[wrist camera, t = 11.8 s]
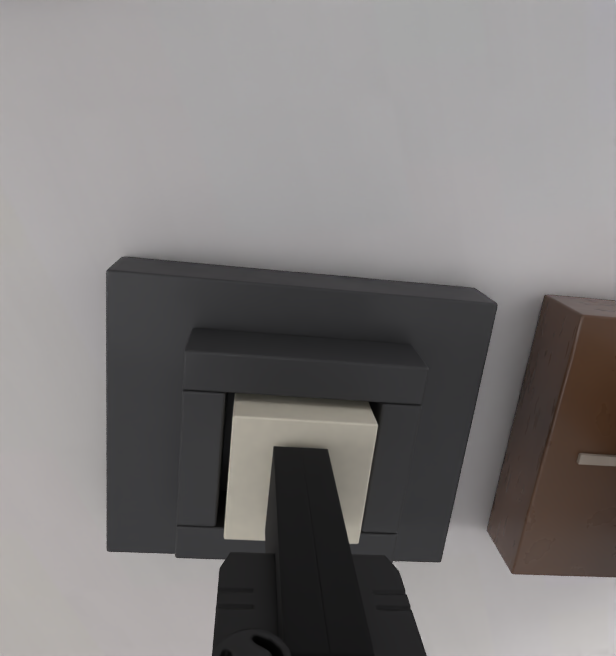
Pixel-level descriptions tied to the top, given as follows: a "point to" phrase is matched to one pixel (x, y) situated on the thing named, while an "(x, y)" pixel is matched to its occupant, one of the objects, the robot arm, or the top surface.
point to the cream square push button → (296, 431)
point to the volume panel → (563, 448)
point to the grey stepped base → (283, 394)
